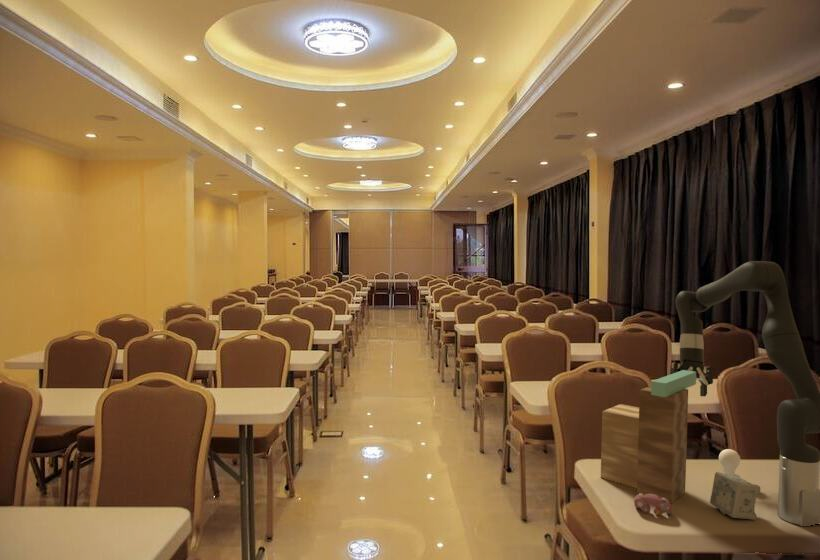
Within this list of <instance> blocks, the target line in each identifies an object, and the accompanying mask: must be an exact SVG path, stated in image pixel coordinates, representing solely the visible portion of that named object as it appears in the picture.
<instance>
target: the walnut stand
mask: <svg viewBox="0 0 820 560" xmlns="http://www.w3.org/2000/svg"><path fill="white" fill-rule="evenodd" d="M638 400H639V401H638V404H639V406H638V407H639V434H638V470H637V488H636V495H638V494H640V493H642V494H655V495H657V496H659V497H661V498H666V499H667V500H668V501H669V502H670V504H671V505H672V504H673V503H674V502H676V501H677V500H678V499H680V498H681V497H682V496H683V495H685V494H686V477H687V475H686V472H687V468H686V467H687V444H688V415H689V413H688V411H689V410H688V408H689V389H688V388H686V389H683V390H681V391H679V392H676V393H674V394H672V395H669V396H667V397H661V396H655V395H651V385H649V386H647V387H644V388H642V389H639V399H638ZM675 500H676V501H675Z"/></svg>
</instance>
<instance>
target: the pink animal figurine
mask: <svg viewBox="0 0 820 560" xmlns="http://www.w3.org/2000/svg"><path fill="white" fill-rule="evenodd" d="M633 503H634V504H633V505H634V507H635V508H636V509H641V511H642V512H643V513H645V514H649V513H651V509H652V507H654V508H653V513H654V514H655V515H657V516H662V515H664V514H665V513H666V514H667V515H671V513H672V511H673V507H672V504H670V502H669V501H668V500H667V499H666V498H661V497H659V496H657V495H655V494H642V493H640V494H638V495H637V494H636V495H635V497H634V499H633Z"/></svg>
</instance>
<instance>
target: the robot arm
mask: <svg viewBox="0 0 820 560" xmlns="http://www.w3.org/2000/svg"><path fill="white" fill-rule="evenodd" d="M786 283H787V281H786V278H785V275H784V271H783V269H782V267H781V265H779V264H778V263H776V262H775V261H763V260H750V261H747V262H745V263H743V264H741V265H740V266H738V267H736V268H735V269H734V270H732V271H730V272H729V273H728V274H726V275H725V276H723V277H721V278H719V279H717V280H715V281H713V282H711V283H708V284H705V285H703V286H701V287H699V288H698V289H697V291H690V290H682V291H679V293H678V294H677V296H676V297H675V307H676V312H677V314H678V318H679V323H680V337H679V362H671V363H670V371H669V375H670V374H673V373H676V372H679V371H678V370H680V371H682V370H687V371H694V372H696V381H698V382H699V384H700V385H699V386H700V387H699V389H700V391H699V394H700V395H699V396H700V397H703V398H704V397H706V396H707V394H708V386H709V385H713V383H714V379H713V378H714V377H713V376H714V375H713V367H712V366H705V365H704V358H705V357H704V353H705V349H704V346H705V345H704V344H705V342H704V333H703V332H704V328H703V325H704V323H703V320H702V319H700V318H698V317H696V316H694V313H702V312H703V313H704V312H706V311H707V310H709V309H710V308H711V307H712V306H713V305H716V304H717V305H718V304H720V303H722V302H724V301H726V300H728V299H729V298H730V297H731V296H732V294H733V293H737V292H742V291H743V292H744V291H751V292H762V293H763V295H764V297H765V301H766V306H767V313H766V317H765V320H764V322H763V326H762V331H761V337H762V341H763V344H764V348H765V349H764V350H765V352H766V355H767V357H768V359H769V361H770V362H771V363H772V364H773V366H774V367H776V369H777V370H778V371H779V372H780V373H781V375H783V376H784V378H786V380H787V381H788V383H790V385H791V387H792V389H793V392H794V394H795V397H796V399H785V400H783V401H781V402H780V404H779V405H778V408H777V411H776V438H777V444H778V448H779V465H778V466H779V467H778V468H779V469H778V491H777V492H778V493H777V494H778V495H777V497H778V498H777V515H778V517H779V518H780V519H781V520H783V521H786V522H788V523H791V524H794V525H798V526H801V527H810V526H811V525H813V526H816V525H815V524H819V523H820V488H819V487H820V450H819V449H818V448H816V447H815V446H813V445H809V444H807V442H806V435H807V434H809V435H810V434H820V390H819V388H818V385H817V383H816V380H815V378H814V375H813V372H812V370H811V367H810V364H809V362H808V359H807V355H806V352H805V348H804V345H803V342H802V339H801V335H800V332H799V330H798V328H797V325H796V321H795V318H794V313H793V309H792V307H791V303H790V298H789V294H788V293H789V292H788V288H787V284H786ZM703 372H704V373H703ZM811 527H812V526H811Z"/></svg>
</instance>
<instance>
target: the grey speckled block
mask: <svg viewBox="0 0 820 560" xmlns="http://www.w3.org/2000/svg"><path fill="white" fill-rule="evenodd" d="M712 484H713V485H712V490H711V495H710V499H709V500H710V501H709V503H710V505H712V506H713V507H715V508H717V509H718V510H720V513H721V514H722V515H723V516H725V515H727V516H730V517H731V518H734V519H741V520H742V519H747V520H752V521H756V520H757V518H758V517H757V514H756V512H755V510H756V509H755V507H756V498H757V497H758V496H759V495H760V492H761V486H760V485H758V484H754V483H751V482H749V481H747V480H746V479H744V478H742V477H741V476H740V475H739V474H737V473H736V474H728V473H723V472H720V471H715V473H714V478H713V483H712Z"/></svg>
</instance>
